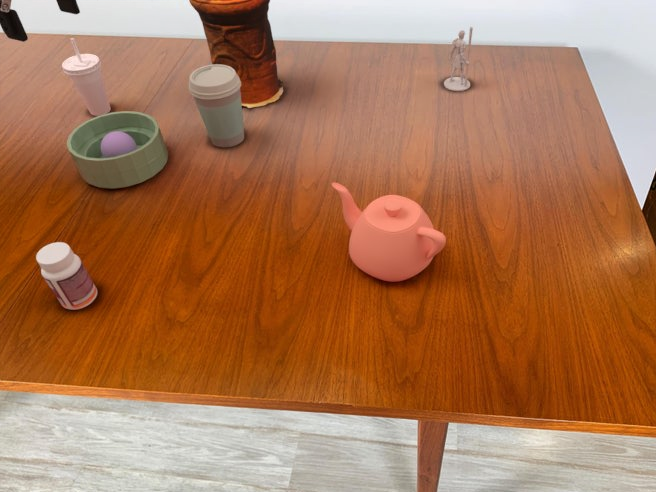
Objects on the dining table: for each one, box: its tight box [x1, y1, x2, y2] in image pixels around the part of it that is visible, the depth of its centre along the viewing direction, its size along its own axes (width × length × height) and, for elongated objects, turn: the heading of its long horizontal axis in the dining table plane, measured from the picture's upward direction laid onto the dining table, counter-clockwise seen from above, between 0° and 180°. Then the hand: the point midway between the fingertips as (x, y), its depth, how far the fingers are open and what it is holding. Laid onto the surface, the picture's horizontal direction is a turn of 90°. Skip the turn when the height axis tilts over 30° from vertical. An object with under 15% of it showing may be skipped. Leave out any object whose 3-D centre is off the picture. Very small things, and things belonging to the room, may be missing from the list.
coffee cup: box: [188, 64, 245, 148], centre depth 99 cm, size 9×8×12 cm
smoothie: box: [61, 37, 112, 117], centre depth 105 cm, size 6×6×14 cm
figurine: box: [443, 26, 474, 92], centre depth 111 cm, size 5×5×12 cm
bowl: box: [66, 110, 169, 189], centre depth 96 cm, size 14×14×6 cm
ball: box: [101, 131, 137, 158], centre depth 96 cm, size 6×6×6 cm
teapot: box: [331, 182, 447, 283], centre depth 80 cm, size 12×18×10 cm
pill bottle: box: [35, 241, 98, 311], centre depth 75 cm, size 5×5×8 cm
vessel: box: [188, 0, 284, 109], centre depth 107 cm, size 14×14×20 cm
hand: (45, 25), depth 81 cm, fingers open, 9 cm apart
